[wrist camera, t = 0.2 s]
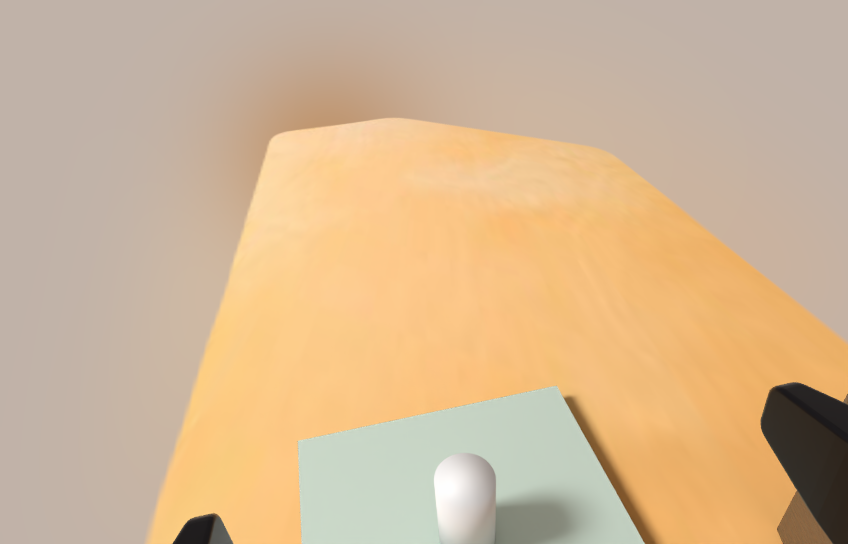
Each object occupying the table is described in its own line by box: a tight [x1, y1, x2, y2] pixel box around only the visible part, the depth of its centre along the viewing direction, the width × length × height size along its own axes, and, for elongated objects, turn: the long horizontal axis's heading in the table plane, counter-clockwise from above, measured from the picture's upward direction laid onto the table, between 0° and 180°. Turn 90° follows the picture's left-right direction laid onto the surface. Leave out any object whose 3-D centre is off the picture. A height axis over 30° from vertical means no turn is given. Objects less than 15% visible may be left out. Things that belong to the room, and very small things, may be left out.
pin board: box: [298, 386, 645, 544], centre depth 23 cm, size 14×14×5 cm
